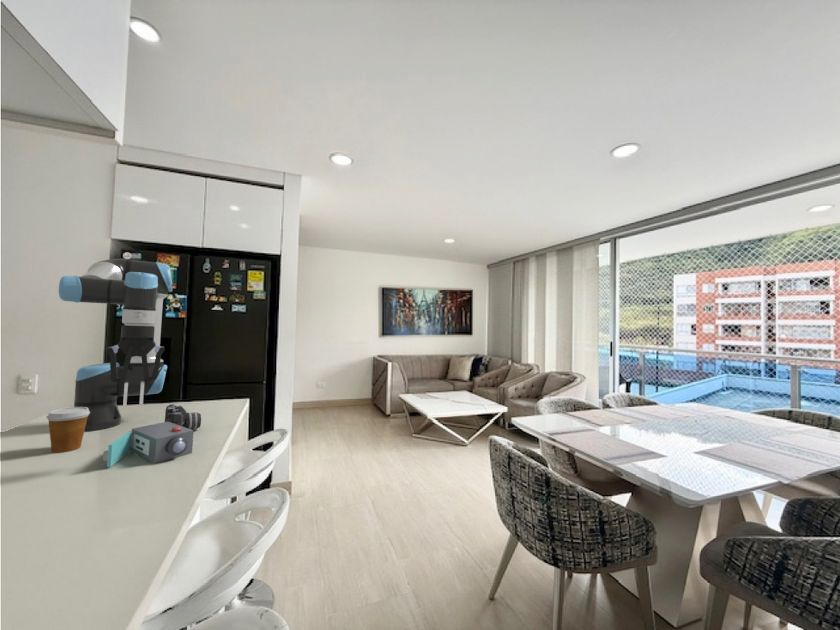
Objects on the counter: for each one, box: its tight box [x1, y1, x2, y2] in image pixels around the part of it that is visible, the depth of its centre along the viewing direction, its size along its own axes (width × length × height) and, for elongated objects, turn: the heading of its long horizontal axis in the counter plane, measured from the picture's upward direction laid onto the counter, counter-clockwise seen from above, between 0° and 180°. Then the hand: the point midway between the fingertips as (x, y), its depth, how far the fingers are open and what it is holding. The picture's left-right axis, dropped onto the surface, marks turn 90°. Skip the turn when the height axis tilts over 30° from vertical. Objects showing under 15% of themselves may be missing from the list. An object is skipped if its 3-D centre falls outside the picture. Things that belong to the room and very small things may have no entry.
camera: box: [164, 403, 202, 431], centre depth 124 cm, size 14×11×10 cm
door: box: [102, 430, 132, 468], centre depth 99 cm, size 12×2×6 cm, turn 21°
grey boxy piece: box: [130, 421, 194, 464], centre depth 105 cm, size 18×10×8 cm, turn 61°
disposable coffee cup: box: [46, 406, 90, 453], centre depth 105 cm, size 10×10×12 cm
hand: (133, 404), depth 98 cm, fingers open, 3 cm apart
